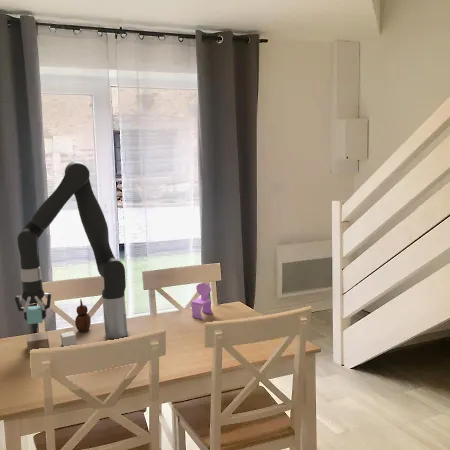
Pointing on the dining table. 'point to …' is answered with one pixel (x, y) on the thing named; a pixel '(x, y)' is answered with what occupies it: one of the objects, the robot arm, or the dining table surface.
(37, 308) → the teal cube
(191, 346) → the dining table surface
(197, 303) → the toy chair
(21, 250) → the robot arm
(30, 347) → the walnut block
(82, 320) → the wooden figurine
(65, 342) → the grey cube
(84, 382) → the dining table surface
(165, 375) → the dining table surface
